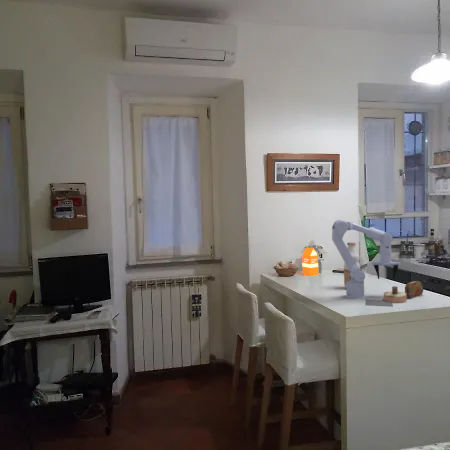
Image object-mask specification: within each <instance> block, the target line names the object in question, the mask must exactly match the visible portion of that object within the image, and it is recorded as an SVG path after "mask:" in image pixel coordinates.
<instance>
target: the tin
mask: <svg viewBox="0 0 450 450" xmlns="http://www.w3.org/2000/svg"><path fill="white" fill-rule="evenodd" d="M404 286H405V287H404V293H406V296H407V298H408V299H413V298H417V297H421V296H423V293H424V284H423V282H422V281H419V280H415V281H410V282H407V283H406V284H405V285H404Z"/></svg>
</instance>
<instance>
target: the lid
mask: <svg viewBox="0 0 450 450" xmlns="http://www.w3.org/2000/svg"><path fill="white" fill-rule="evenodd" d="M384 296H387V297H394V298H401V297H406V293H405V292H401V291H398V286H392V287H391V291H385V292H383V297H384Z"/></svg>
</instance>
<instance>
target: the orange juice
mask: <svg viewBox="0 0 450 450" xmlns="http://www.w3.org/2000/svg"><path fill="white" fill-rule="evenodd" d="M304 249H305V250H304V251H303V252H302V256H301V258H302V260H301V261H302V263H301V264H302V275H303V274H304V276H309V277H312V276H318V275H319V255H318V253H317V251H316V250H315V248H314V247H305V248H304Z"/></svg>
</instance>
